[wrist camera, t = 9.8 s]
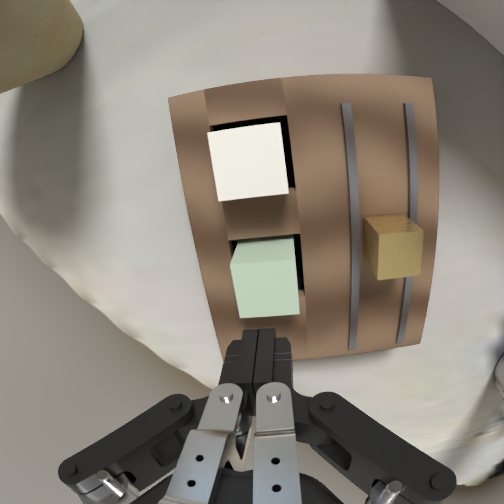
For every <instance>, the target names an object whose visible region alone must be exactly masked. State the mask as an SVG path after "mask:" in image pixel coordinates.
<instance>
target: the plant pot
mask: <svg viewBox="0 0 504 504" xmlns="http://www.w3.org/2000/svg"><path fill="white" fill-rule="evenodd" d="M82 35H83V23H82V20H81V18H80V16H79V15H78V13H77V11H76V9H75V8H74V6H73V5H72V3H71V2H70V0H0V93H3V92H6V91H8V90H11V89H14V88H16V87H19V86H22V85H24V84H27V83H29V82H32V81H35V80H37V79H40V78H42V77H44V76H47V75H49V74H52V73H54V72H56V71H58V70H60V69H61V68H63V67H64V66H65V65H66V64H67V63H68V62H69V61H70V60H71V58H72V57H73V56H74V54H75V53H76V51H77V49H78V47H79V45H80V42H81V39H82Z"/></svg>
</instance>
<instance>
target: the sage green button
mask: <svg viewBox="0 0 504 504" xmlns="http://www.w3.org/2000/svg"><path fill="white" fill-rule="evenodd" d="M230 269H231V274H232V279H233V285H234V290H235V295H236V300H237V305H238V311H239V316H240V318H252V317H268V316H281V315H294V314H300V311H299V298H298V285H297V272H296V261H295V250H294V239H293V234H289V235H279V236H269V237H258V238H248V239H239V241H238V244H237V246H236V249H235V252H234V255H233V257H232V260H231V263H230Z"/></svg>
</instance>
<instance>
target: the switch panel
mask: <svg viewBox="0 0 504 504" xmlns="http://www.w3.org/2000/svg"><path fill="white" fill-rule="evenodd" d="M168 102H169V108H170V115H171V121H172V127H173V133H174V139H175V145H176V151H177V157H178V163H179V168H180V174H181V179H182V184H183V190H184V195H185V200H186V205H187V210H188V215H189V220H190V225H191V229H192V234H193V239H194V243H195V248H196V253H197V257H198V261H199V266H200V270H201V275H202V279H203V283H204V287H205V292H206V296H207V300H208V304H209V308H210V312H211V316H212V320H213V324H214V328H215V332H216V336H217V340H218V343H219V347H220V351H221V355H222V358H223V362H224V359H225V356H226V350H227V347H228V346H229V344H230V343H231V342H232V341H233V340H241V339H242V333H243V329H255V328H259V329H260V328H271V327H275V330H276V338H279V337H287V339H288V340H289V342H290V343H291V353H292V360H300V359H312V358H323V357H333V356H342V355H350V354H358V353H366V352H373V351H379V350H386V349H392V348H398V347H404V346H410V345H415V344H420V341H421V337H422V332H423V328H424V323H425V318H426V313H427V307H428V301H429V296H430V289H431V283H432V275H433V268H434V259H435V250H436V239H437V226H438V208H439V149H438V131H437V118H436V108H435V99H434V91H433V83H432V78H428V77H418V76H405V75H386V74H328V75H309V76H296V77H285V78H275V79H267V80H259V81H251V82H245V83H238V84H232V85H226V86H220V87H215V88H210V89H205V90H200V91H195V92H191V93H186V94H182V95H178V96H174V97H170V98H168ZM277 116H287V122H288V129H289V137H290V145H291V153H292V161H293V170H294V179H295V188H288V191H289V194H279V195H270V196H260V197H252V198H243V199H235V200H227V201H219V202H218V196H217V190H216V184H215V178H214V172H213V166H212V160H211V154H210V148H209V141H208V135H207V133H208V132H214V131H213V126H214V125H220V124H226V123H232V122H239V121H245V120H253V119H260V118H268V117H277ZM396 214H404V215H406V216H407V217H408V218H409V219H410V220H412V221H413V222H414V223H415V224H416V225H418V226H419V227H420V228H421V229H422V230H424V236H423V249H422V260H421V270H420V275H418V276H410V277H402V278H394V279H385V280H377V279H376V277H375V275H374V273H373V272H372V270H371V268H370V266H369V265H368V263H367V261H366V259H365V258H364V217H370V216H383V215H396ZM289 234H300V240H301V252H302V265H303V279H304V290H298V298H299V311H300V314H294V315H281V316H268V317H252V318H240V316H239V311H238V305H237V300H236V295H235V290H234V285H233V279H232V274H231V269H230V263H231V260H232V257H233V255H234V252H233V246H232V241H231V240H238V239H248V238H258V237H269V236H279V235H289Z"/></svg>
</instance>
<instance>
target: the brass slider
mask: <svg viewBox="0 0 504 504" xmlns="http://www.w3.org/2000/svg"><path fill="white" fill-rule="evenodd" d="M423 236H424V230H422V229H421V228H420V227H419V226H418V225H416V224H415V223H414V222H413V221H412V220H410V219H409V218H408V217H407V216H406V215H404V214H396V215H383V216H370V217H364V258H365V259H366V261H367V263H368V265H369V266H370V268H371V270H372V272H373V273H374V275H375V277H376V279H377V280H385V279H394V278H402V277H410V276H418V275H420V270H421V260H422V249H423Z"/></svg>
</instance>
